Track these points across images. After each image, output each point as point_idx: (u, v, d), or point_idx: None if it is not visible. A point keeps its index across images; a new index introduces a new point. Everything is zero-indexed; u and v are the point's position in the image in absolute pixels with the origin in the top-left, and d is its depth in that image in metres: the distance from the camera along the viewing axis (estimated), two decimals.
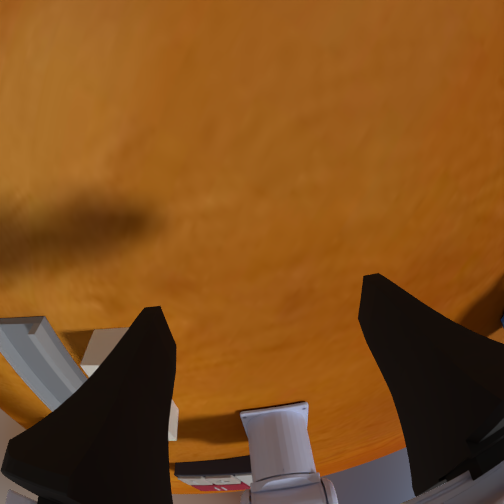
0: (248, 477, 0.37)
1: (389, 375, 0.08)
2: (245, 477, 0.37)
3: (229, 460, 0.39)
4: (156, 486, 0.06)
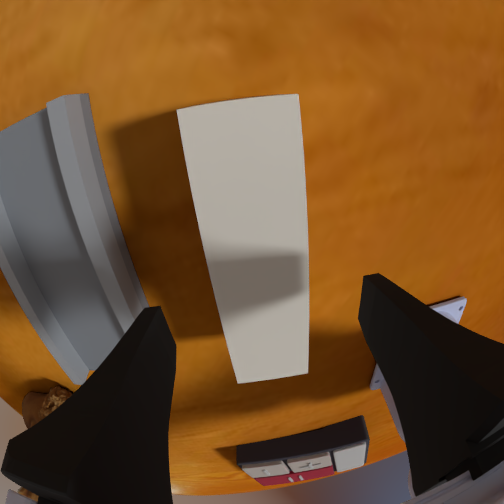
0: (350, 452, 0.26)
1: (389, 375, 0.08)
2: (346, 452, 0.26)
3: (323, 430, 0.28)
4: (156, 486, 0.06)
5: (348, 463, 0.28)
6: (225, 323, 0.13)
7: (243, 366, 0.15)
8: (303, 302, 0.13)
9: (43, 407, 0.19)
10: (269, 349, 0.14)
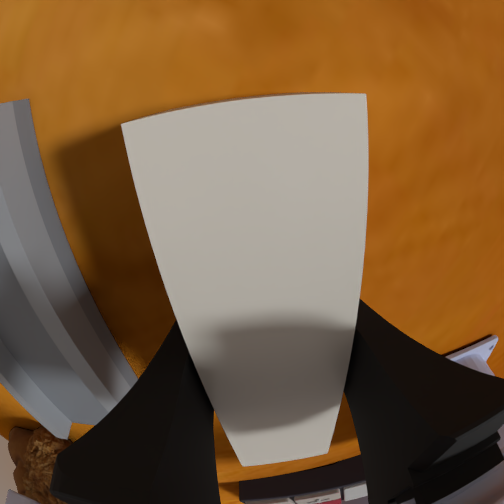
0: (362, 487, 0.22)
1: (346, 387, 0.08)
2: (358, 488, 0.22)
3: (333, 466, 0.24)
4: (209, 487, 0.06)
5: (357, 494, 0.24)
6: (227, 425, 0.09)
7: (249, 455, 0.10)
8: (334, 400, 0.08)
9: (27, 451, 0.14)
10: (284, 441, 0.10)
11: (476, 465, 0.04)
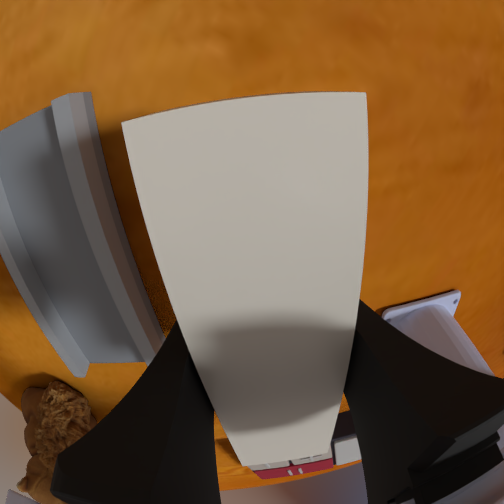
0: (351, 443, 0.26)
1: (346, 387, 0.08)
2: (347, 443, 0.26)
3: None
4: (210, 488, 0.06)
5: (348, 456, 0.29)
6: (226, 425, 0.09)
7: (249, 455, 0.10)
8: (334, 400, 0.08)
9: (42, 401, 0.19)
10: (284, 441, 0.10)
11: (476, 465, 0.04)
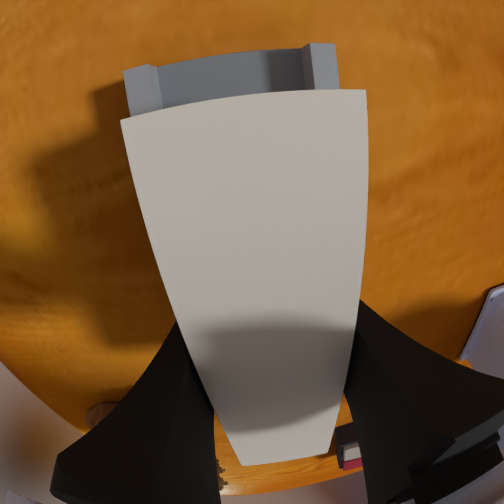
0: None
1: (346, 387, 0.08)
2: None
3: None
4: (210, 488, 0.06)
5: None
6: (226, 424, 0.09)
7: (249, 455, 0.10)
8: (334, 399, 0.08)
9: None
10: (284, 441, 0.10)
11: (476, 465, 0.04)
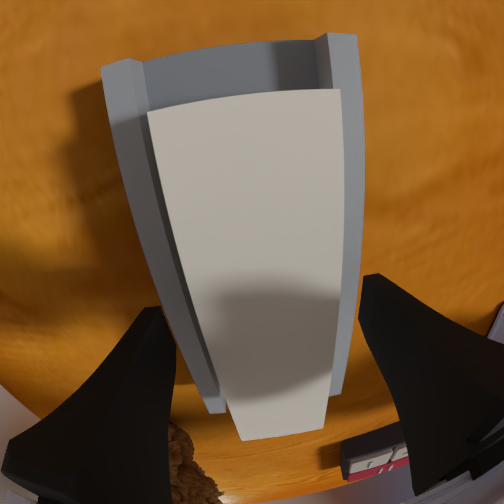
0: None
1: (389, 375, 0.08)
2: None
3: None
4: (156, 486, 0.06)
5: None
6: (227, 391, 0.10)
7: (248, 427, 0.12)
8: (326, 366, 0.10)
9: None
10: (281, 411, 0.11)
11: None
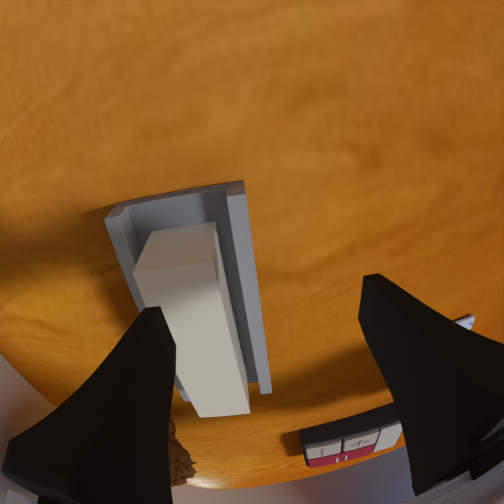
0: (393, 429, 0.31)
1: (389, 375, 0.08)
2: (390, 430, 0.31)
3: (372, 412, 0.33)
4: (156, 486, 0.06)
5: (385, 442, 0.34)
6: (184, 384, 0.18)
7: (201, 408, 0.20)
8: (236, 375, 0.18)
9: None
10: (218, 399, 0.19)
11: None
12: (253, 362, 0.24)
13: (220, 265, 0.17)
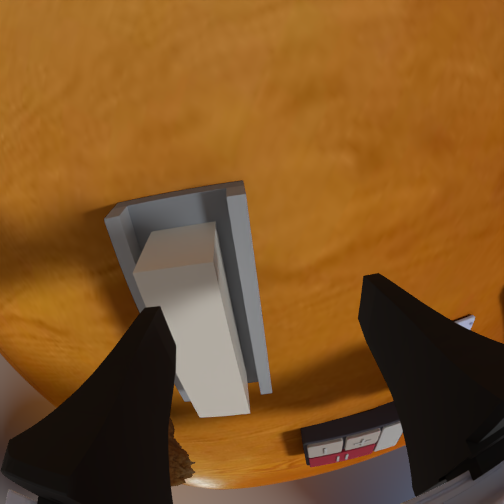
0: (395, 428, 0.31)
1: (389, 375, 0.08)
2: (392, 428, 0.31)
3: (374, 410, 0.33)
4: (156, 486, 0.06)
5: (387, 441, 0.34)
6: (184, 384, 0.18)
7: (201, 408, 0.20)
8: (236, 375, 0.18)
9: None
10: (218, 399, 0.19)
11: None
12: (253, 362, 0.24)
13: (220, 265, 0.17)
